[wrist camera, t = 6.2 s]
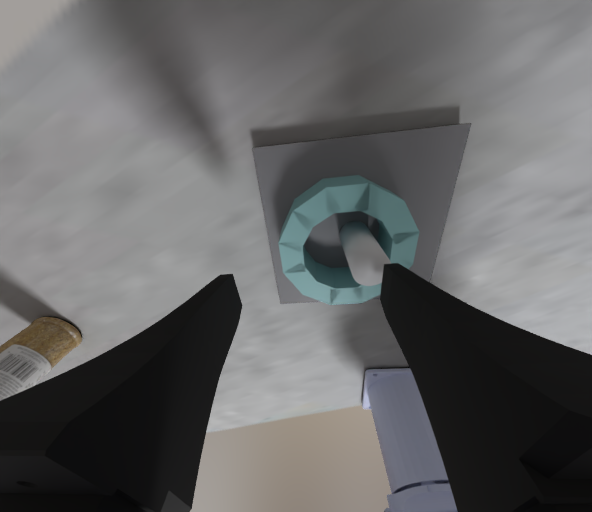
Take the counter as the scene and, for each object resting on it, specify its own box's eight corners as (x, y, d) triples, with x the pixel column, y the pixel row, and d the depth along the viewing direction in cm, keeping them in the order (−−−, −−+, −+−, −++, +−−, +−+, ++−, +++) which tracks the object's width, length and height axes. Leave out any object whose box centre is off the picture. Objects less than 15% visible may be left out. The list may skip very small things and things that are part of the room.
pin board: (459, 124, 12) (559, 116, 7) (420, 288, 18) (461, 343, 13) (255, 147, 13) (228, 154, 8) (281, 296, 19) (274, 350, 14)
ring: (408, 169, 13) (430, 176, 10) (392, 279, 17) (405, 300, 14) (275, 183, 13) (269, 192, 11) (290, 285, 17) (288, 307, 15)
